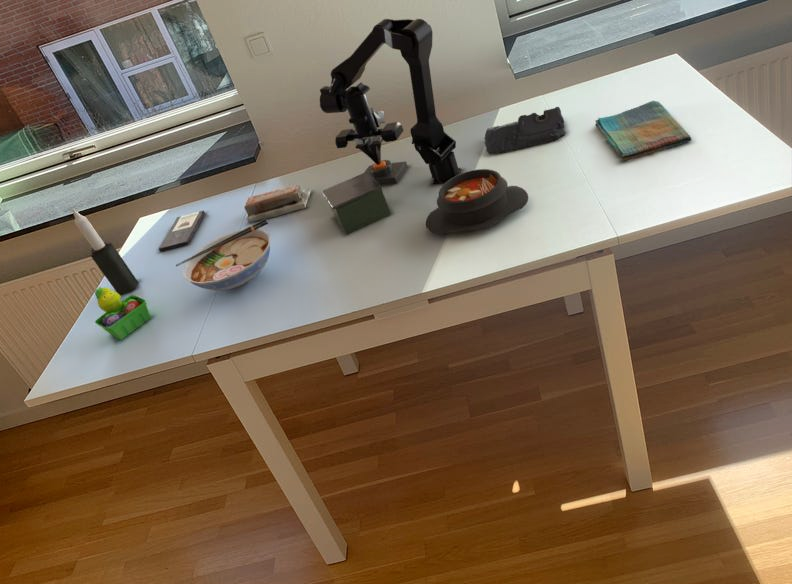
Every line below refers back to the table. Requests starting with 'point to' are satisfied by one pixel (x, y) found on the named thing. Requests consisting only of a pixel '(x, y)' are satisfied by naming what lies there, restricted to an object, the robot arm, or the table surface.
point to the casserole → (474, 202)
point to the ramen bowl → (229, 259)
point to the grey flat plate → (350, 190)
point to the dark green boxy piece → (362, 211)
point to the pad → (388, 172)
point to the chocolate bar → (182, 231)
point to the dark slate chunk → (525, 132)
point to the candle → (107, 258)
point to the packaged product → (276, 203)
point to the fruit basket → (120, 312)
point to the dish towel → (642, 130)
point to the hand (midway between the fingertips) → (378, 163)
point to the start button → (379, 165)
